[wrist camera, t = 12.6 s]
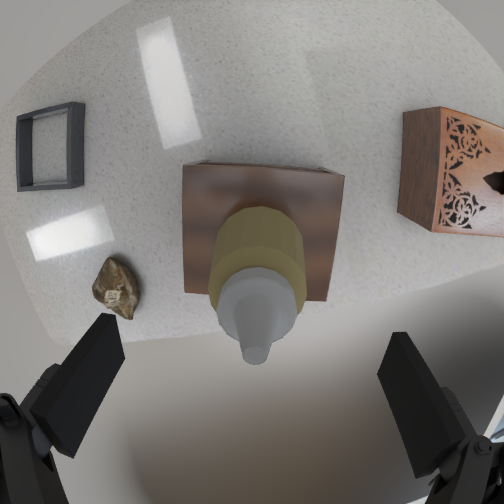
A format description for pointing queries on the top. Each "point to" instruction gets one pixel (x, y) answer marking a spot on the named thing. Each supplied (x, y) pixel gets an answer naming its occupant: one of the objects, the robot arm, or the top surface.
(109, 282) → the fossilized seashell
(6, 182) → the top surface
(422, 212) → the tissue box cover
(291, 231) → the squeeze bottle
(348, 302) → the top surface
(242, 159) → the top surface
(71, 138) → the holder
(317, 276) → the wooden shelf
